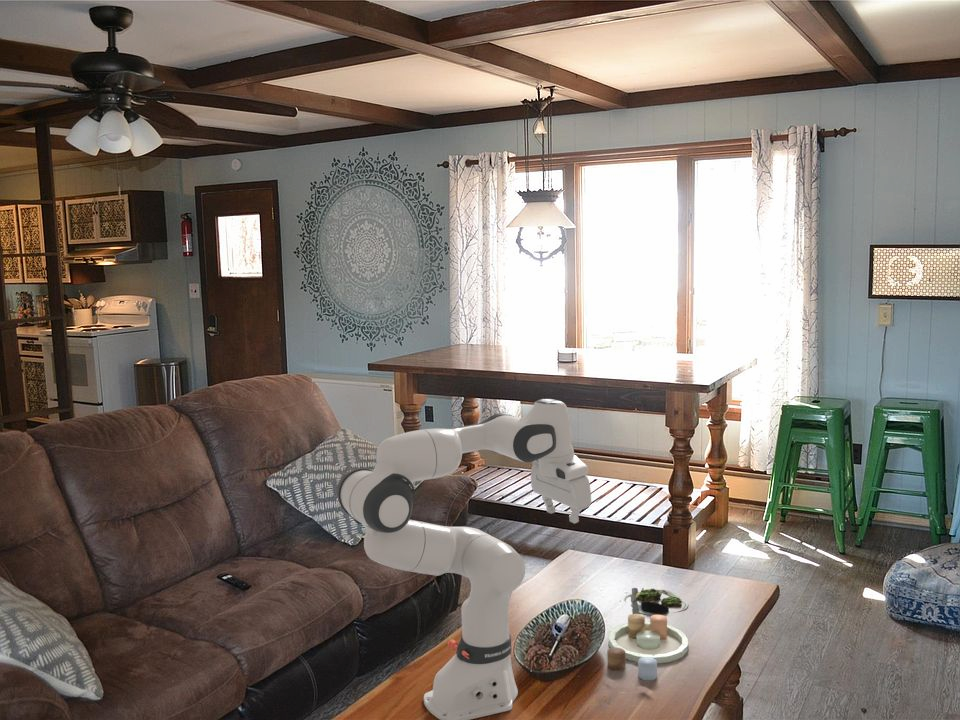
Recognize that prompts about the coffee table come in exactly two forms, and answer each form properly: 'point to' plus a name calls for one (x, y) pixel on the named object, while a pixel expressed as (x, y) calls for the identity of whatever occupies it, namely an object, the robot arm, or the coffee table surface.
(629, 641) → the ring dish
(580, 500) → the robot arm
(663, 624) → the terracotta bead
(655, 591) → the salad plate
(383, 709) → the coffee table surface
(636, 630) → the honey oak bead
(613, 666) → the walnut bead
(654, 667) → the slate-blue bead
